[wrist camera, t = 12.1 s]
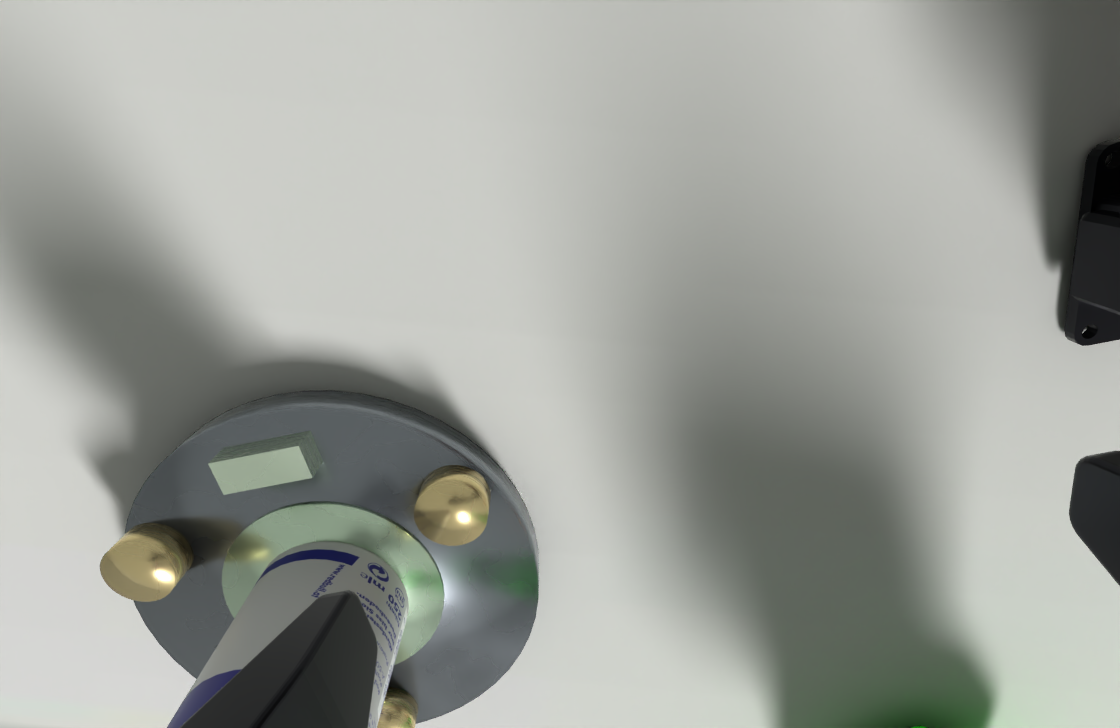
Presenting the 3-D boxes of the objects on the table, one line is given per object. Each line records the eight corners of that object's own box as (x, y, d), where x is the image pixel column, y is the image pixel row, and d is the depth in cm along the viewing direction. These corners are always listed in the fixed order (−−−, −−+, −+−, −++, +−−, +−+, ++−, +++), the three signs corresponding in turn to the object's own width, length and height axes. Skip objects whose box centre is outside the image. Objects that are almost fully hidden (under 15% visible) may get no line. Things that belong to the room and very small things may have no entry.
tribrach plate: (486, 352, 20) (477, 385, 18) (572, 667, 26) (575, 726, 24) (73, 435, 21) (10, 478, 19) (244, 722, 27) (213, 784, 24)
